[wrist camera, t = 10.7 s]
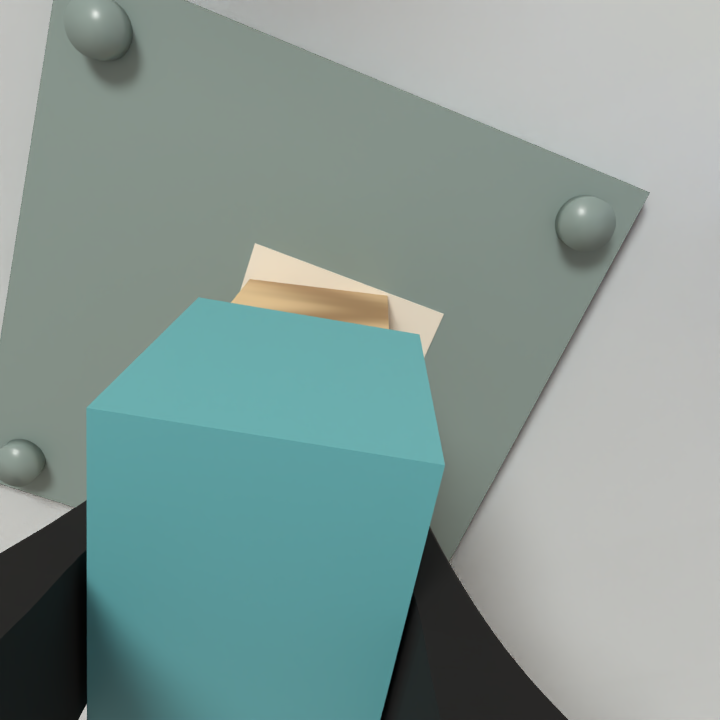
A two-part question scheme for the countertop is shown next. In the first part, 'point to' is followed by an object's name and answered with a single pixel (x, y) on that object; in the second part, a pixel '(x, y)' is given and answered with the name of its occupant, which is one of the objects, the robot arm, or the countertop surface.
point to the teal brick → (256, 518)
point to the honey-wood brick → (317, 302)
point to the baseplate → (281, 229)
